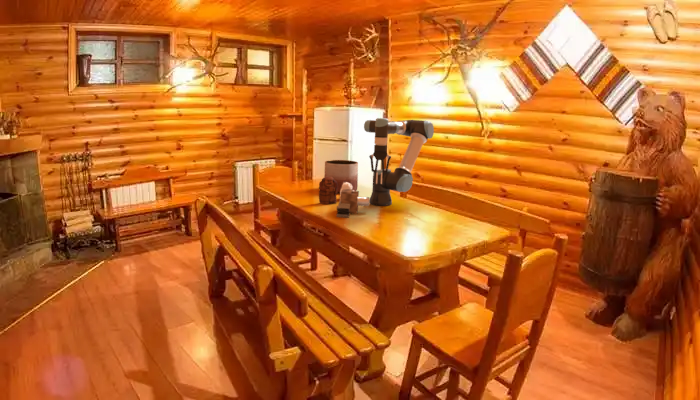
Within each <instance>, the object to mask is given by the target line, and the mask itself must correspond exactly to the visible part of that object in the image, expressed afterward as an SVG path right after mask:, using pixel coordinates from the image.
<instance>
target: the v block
mask: <svg viewBox="0 0 700 400" xmlns="http://www.w3.org/2000/svg"><path fill="white" fill-rule="evenodd" d="M336 211H337V212H336V218H346V219H347V218H349V217H350V214H351V213H350V204H346V203H340V202H339V203H338V205H337V206H336Z"/></svg>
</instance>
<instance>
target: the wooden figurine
mask: <svg viewBox="0 0 700 400" xmlns="http://www.w3.org/2000/svg"><path fill="white" fill-rule="evenodd" d="M318 189H319V191H318V199H319V204H322V205H332V204H333V205H334V204H336V203H337V194H338V193H337V182H336V181H335V180H334V179H333V178H332V177H330V176H327V177H323V178H322V179H321V180H320V181H319V187H318Z"/></svg>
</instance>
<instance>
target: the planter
mask: <svg viewBox="0 0 700 400" xmlns="http://www.w3.org/2000/svg"><path fill="white" fill-rule="evenodd" d="M358 171H359V162H357V161H354V160H347V159H330V160H326V161H324V177H327V176H330V177H332V178H333V179H334V180H335V181H336V182H337V194H340V190H341V188H342V185H343V182H344V183H346V182H348V183H350V184H352V187H353V188H352V191H353V190H354V191H358V181H359V175H358V174H359V173H358ZM324 177H323V178H324Z"/></svg>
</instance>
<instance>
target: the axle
mask: <svg viewBox="0 0 700 400" xmlns="http://www.w3.org/2000/svg"><path fill="white" fill-rule="evenodd" d="M369 200H370V197H369V196H359V197H358V198H357V206H358V207H369V206H370V203H369ZM339 203H341V196H339Z"/></svg>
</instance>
